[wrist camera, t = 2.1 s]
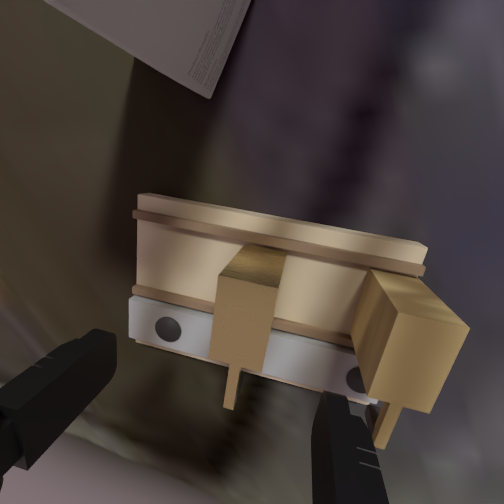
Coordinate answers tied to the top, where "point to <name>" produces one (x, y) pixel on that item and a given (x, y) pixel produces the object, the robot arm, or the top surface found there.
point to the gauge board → (301, 303)
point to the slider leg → (245, 313)
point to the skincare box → (167, 33)
